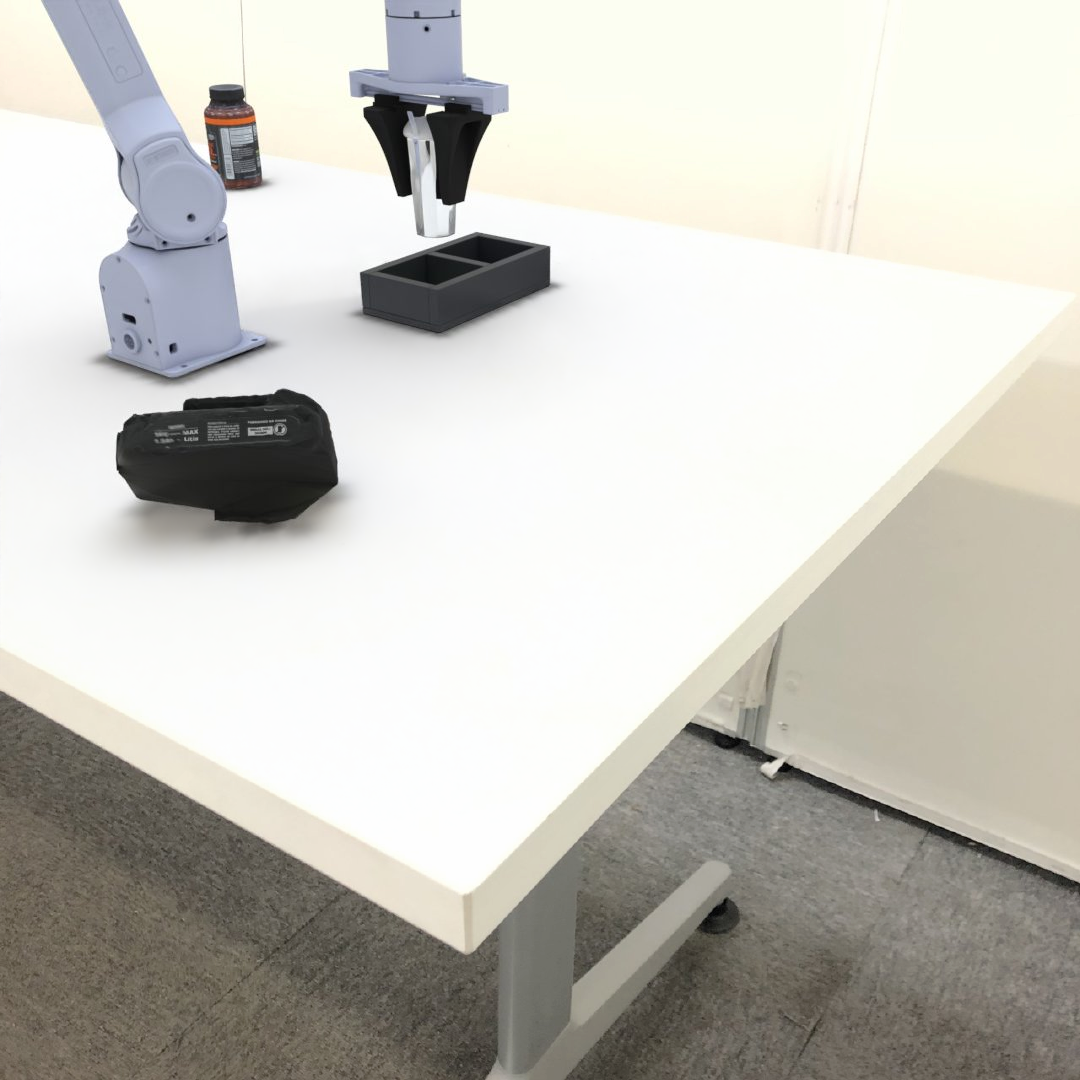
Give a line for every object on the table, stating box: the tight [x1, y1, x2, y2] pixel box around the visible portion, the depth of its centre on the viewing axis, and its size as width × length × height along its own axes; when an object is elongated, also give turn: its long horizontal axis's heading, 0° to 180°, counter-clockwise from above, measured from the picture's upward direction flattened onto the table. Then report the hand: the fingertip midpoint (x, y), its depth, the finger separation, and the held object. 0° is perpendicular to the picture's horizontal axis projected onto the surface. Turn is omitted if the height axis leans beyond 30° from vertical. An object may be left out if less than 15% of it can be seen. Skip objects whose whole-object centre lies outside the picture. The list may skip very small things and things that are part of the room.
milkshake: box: [403, 111, 457, 239], centre depth 90 cm, size 5×5×10 cm
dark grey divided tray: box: [359, 231, 551, 333], centre depth 99 cm, size 8×16×4 cm, turn 145°
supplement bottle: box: [203, 83, 263, 190], centre depth 135 cm, size 6×6×11 cm
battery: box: [115, 387, 339, 525], centre depth 64 cm, size 12×8×7 cm
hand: (431, 198), depth 91 cm, fingers closed on milkshake, 4 cm apart
